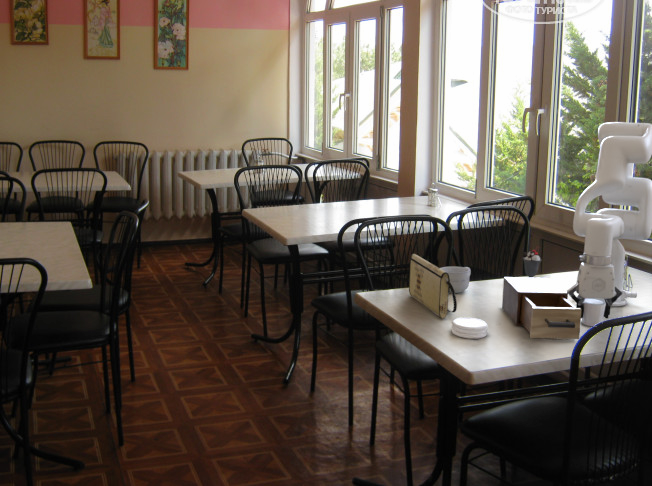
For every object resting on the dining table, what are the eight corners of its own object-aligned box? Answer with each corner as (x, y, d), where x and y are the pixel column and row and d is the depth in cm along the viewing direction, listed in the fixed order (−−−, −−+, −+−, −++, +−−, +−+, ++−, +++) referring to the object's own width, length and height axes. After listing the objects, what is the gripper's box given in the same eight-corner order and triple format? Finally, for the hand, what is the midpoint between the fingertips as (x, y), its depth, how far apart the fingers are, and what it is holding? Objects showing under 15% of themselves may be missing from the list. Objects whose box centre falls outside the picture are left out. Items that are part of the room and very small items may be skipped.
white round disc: (493, 337, 211) (494, 326, 210) (462, 340, 208) (463, 328, 207) (475, 326, 220) (475, 315, 219) (445, 329, 217) (445, 318, 217)
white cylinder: (600, 320, 227) (601, 298, 225) (607, 327, 220) (609, 305, 219) (576, 319, 227) (578, 297, 226) (583, 326, 221) (585, 304, 219)
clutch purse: (462, 319, 227) (464, 272, 224) (441, 321, 225) (443, 273, 223) (424, 293, 255) (426, 251, 253) (405, 294, 254) (407, 252, 251)
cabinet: (565, 327, 221) (568, 293, 219) (516, 326, 221) (518, 291, 220) (547, 309, 238) (549, 278, 236) (501, 308, 239) (503, 277, 237)
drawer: (585, 345, 203) (588, 314, 201) (536, 344, 203) (538, 313, 202) (560, 321, 224) (562, 293, 222) (515, 319, 224) (517, 292, 223)
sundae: (542, 288, 264) (545, 247, 261) (523, 288, 264) (526, 247, 261) (536, 283, 270) (539, 243, 268) (518, 283, 270) (520, 243, 268)
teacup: (451, 296, 252) (452, 273, 251) (431, 288, 262) (432, 266, 260) (482, 291, 259) (483, 269, 257) (461, 284, 268) (462, 263, 267)
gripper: (571, 262, 217) (567, 320, 220) (631, 263, 216) (626, 321, 219) (563, 256, 224) (559, 312, 227) (621, 257, 223) (616, 313, 227)
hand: (592, 316), depth 223 cm, fingers closed on white cylinder, 6 cm apart
